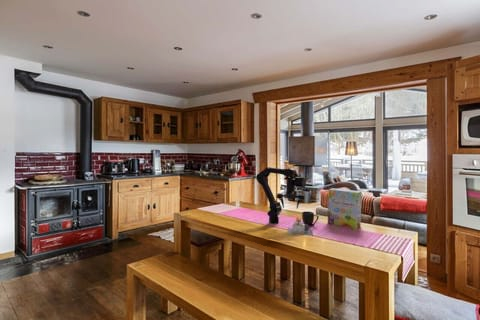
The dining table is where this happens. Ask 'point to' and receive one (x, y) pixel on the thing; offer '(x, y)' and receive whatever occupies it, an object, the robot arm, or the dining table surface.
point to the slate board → (300, 233)
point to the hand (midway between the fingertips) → (290, 208)
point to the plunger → (298, 220)
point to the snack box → (344, 207)
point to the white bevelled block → (299, 227)
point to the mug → (308, 218)
